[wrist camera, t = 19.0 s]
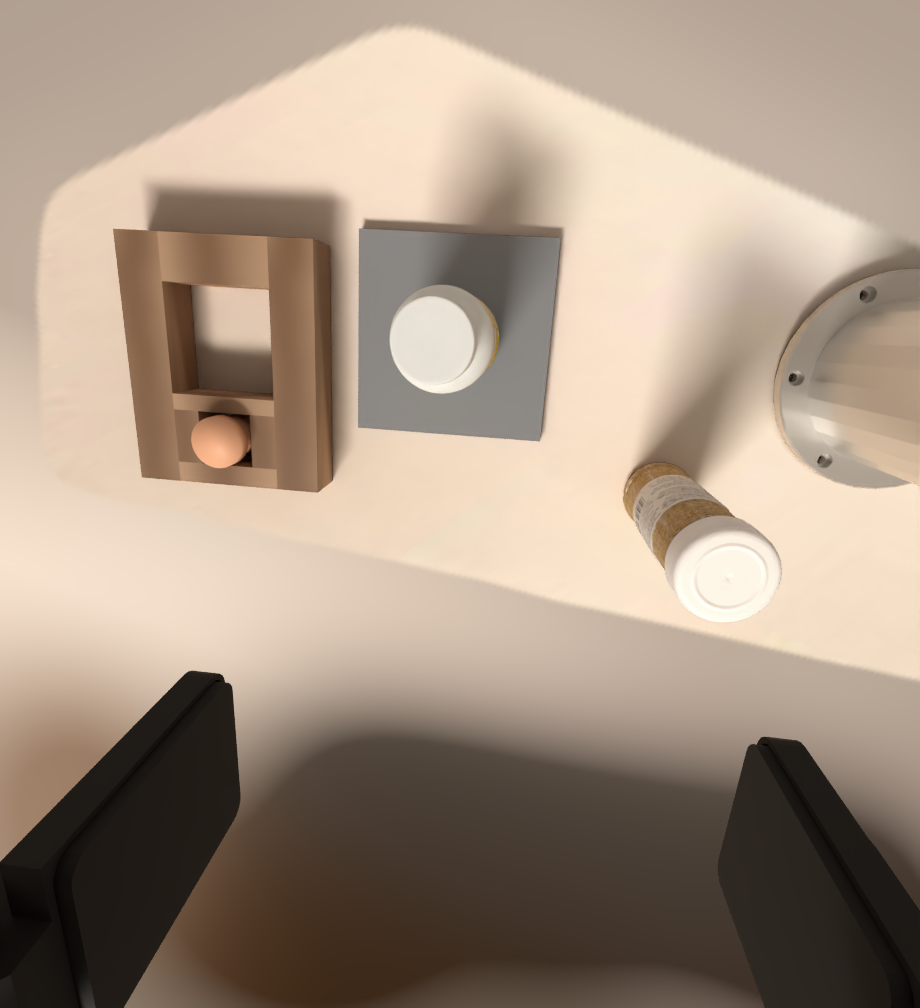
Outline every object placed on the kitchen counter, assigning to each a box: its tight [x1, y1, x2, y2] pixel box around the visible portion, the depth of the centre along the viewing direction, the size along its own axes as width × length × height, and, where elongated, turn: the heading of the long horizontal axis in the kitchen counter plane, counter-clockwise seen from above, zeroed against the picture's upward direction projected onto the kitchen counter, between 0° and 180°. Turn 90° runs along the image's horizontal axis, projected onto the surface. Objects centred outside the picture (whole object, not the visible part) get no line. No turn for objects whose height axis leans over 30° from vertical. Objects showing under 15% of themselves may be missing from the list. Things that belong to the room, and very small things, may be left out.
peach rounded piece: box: [191, 414, 252, 468], centre depth 36 cm, size 3×3×4 cm
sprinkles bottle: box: [623, 463, 782, 622], centre depth 30 cm, size 5×5×14 cm
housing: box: [113, 229, 332, 493], centre depth 36 cm, size 12×15×3 cm
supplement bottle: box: [390, 285, 499, 394], centre depth 30 cm, size 5×5×10 cm
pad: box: [358, 228, 561, 441], centre depth 35 cm, size 12×12×1 cm
